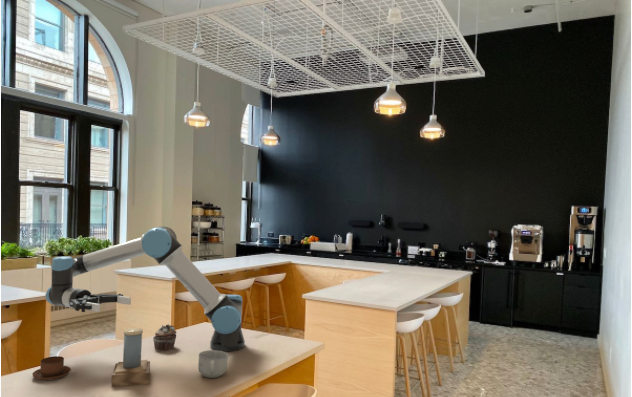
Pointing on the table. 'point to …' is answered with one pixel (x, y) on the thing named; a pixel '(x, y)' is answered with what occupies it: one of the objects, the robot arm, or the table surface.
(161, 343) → the cupcake
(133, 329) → the canister
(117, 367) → the pedestal
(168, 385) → the table surface
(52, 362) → the cup and saucer
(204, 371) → the teacup
